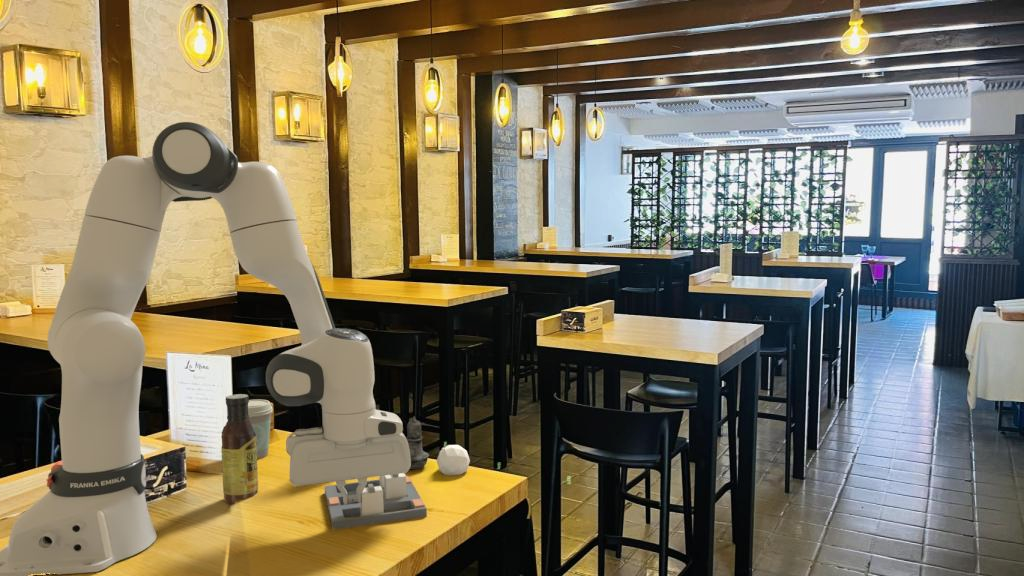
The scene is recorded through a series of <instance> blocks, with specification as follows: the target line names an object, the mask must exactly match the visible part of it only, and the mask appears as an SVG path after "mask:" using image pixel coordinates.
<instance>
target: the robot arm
mask: <svg viewBox="0 0 1024 576" xmlns="http://www.w3.org/2000/svg"><path fill="white" fill-rule="evenodd" d="M151 154H152V155H150V156H148V157H139V156H136V155H118V156H114V157H111V158H110V159H108V160H107V161H105V163H104V164H103V165H102V168H101V170H100V172H99V173H98V176H97V177H96V180H95V182H94V184H93V187H92V190H91V192H90V194H89V198H88V201H87V204H86V207H85V211H84V216H83V219H82V222H81V223H82V224H81V227H80V232H79V234H78V235H79V236H78V240H77V244H76V248H75V250H74V251H75V252H74V256H73V260H72V263H71V267H70V270H69V273H68V275H67V277H66V279H65V282H64V284H63V288H62V291H61V293H60V296H59V299H58V302H57V305H56V307H55V311H54V314H53V317H52V320H51V324H50V327H49V329H48V333H47V347H48V351H49V353H50V355H51V356H52V358H53V359H54V360H55V361H56V362H57V363H58V364H59V365H60V368H61V398H60V399H61V401H60V403H61V404H60V413H59V416H58V423H59V439H60V453H61V460H59V461H56V462H55V463H54V464H53V465H52V466H51V469H50V472H49V473H48V474H47V479H46V486H47V488H48V490H49V491H48V492H47V493H45V495H43V496H41V498H39V500H37V501H36V502H35V503H33V504H32V505H31V506H30V507H29V508H28V509H26V510H25V511H24V512H23V513H22V514H21V515H20V516H19V517H18V518H17V519H16V521H15V522H14V523H13V526H12V528H11V530H10V531H11V532H10V533H9V534H10V535H9V539H8V543H7V544H6V545H5V546H4V547H3V548H2V549H1V550H0V576H28V575H31V574H41V573H42V574H43V573H45V574H47V573H50V574H54V573H55V574H57V575H67V574H69V575H70V574H83V573H84V574H86V573H95V572H99V571H103V570H104V569H107V568H108V567H110V566H112V565H113V564H115V563H116V562H119V561H121V560H124V559H127V558H130V557H132V556H134V555H136V554H139V553H140V552H142V551H144V550H146V549H147V548H149V547H150V546H151V545H153V544H154V542H156V539H157V535H158V534H157V532H156V530H155V527H154V525H153V522H152V519H151V515H150V512H149V511H150V510H149V508H148V503H147V498H146V493H145V490H146V487H147V474H146V473H147V471H146V463H145V457H144V455H143V454H142V453H141V437H140V419H139V418H140V417H139V416H140V415H139V413H140V412H139V409H140V408H139V407H140V406H139V405H140V396H141V388H142V380H143V379H142V378H143V365H144V364H143V362H144V360H145V356H146V343H145V339H144V337H143V335H142V333H141V331H140V329H139V327H138V326H137V324H135V323H134V321H132V317H133V315H134V312H135V309H136V307H137V304H138V301H140V297H141V295H142V293H143V291H144V289H145V287H146V286H147V284H148V282H149V281H150V278H151V274H152V269H153V266H154V262H155V257H156V253H157V248H158V244H159V240H160V236H161V232H162V226H163V223H164V218H165V214H166V212H167V208H168V207H169V205H170V203H171V202H174V203H175V202H193V201H195V202H197V201H198V202H199V201H206V200H211V199H214V200H215V201H216V202H218V203H219V204H220V206H221V208H222V209H223V213H224V215H225V217H226V222H227V226H228V227H227V228H228V232H229V235H230V238H231V243H232V246H233V247H232V248H233V251H234V253H235V255H236V258H237V260H238V262H239V264H240V266H241V268H242V269H243V270H244V271H245V272H246V273H247V274H249V275H250V276H252V277H253V278H256V279H257V280H260V281H263V282H264V283H267V284H269V285H271V286H273V287H274V288H276V289H278V290H279V291H280V292H281V293H282V294H283V295H284V296H285V297H286V299H287V301H288V303H289V304H290V308H291V311H292V313H293V314H292V315H293V317H294V319H295V323H296V325H297V328H298V331H299V334H300V338H301V345H299V346H296V347H294V348H291V349H288V350H285V351H283V352H281V353H279V354H278V355H276V356H274V357H273V358H272V359H271V360H270V361H269V363H268V365H267V368H266V371H265V383H266V387H267V390H268V392H269V393H270V395H271V396H272V398H273V399H274V400H275V401H276V402H278V403H279V404H281V405H284V406H286V407H299V406H305V405H309V404H310V405H311V404H314V403H315V404H316V403H318V404H320V405H321V410H322V411H321V412H322V413H321V414H322V426H319V427H311V428H306V429H305V428H300V429H296V430H295V431H294V432H292V433H290V434H289V435H288V436H287V438H286V440H285V448H286V449H285V450H286V453H287V454H288V456H289V457H290V458H289V482H290V483H291V484H292V485H293V486H294V487H303V486H310V485H317V484H319V485H320V484H327V483H336V484H335V485H337V488H338V489H339V490H340V492H341V493H342V495H343V502H344V504H343V505H348V504H356V503H361V493H362V492H363V490H364V488H365V486H366V485H367V481H368V478H375V477H379V476H384V475H392V474H400V473H405V474H406V473H408V472H409V470H411V469H410V467H411V458H410V451H409V445H408V442H407V439H406V436H405V434H404V433H403V431H404V427H403V421H402V420H401V418H400V417H399V416H398V415H397V414H396V413H394V412H390V411H385V410H380V409H377V408H376V401H375V398H374V393H373V389H374V385H375V381H376V380H375V379H376V378H375V365H374V364H375V363H374V355H373V348H372V344H371V342H370V339H369V338H368V336H367V335H366V334H364V333H363V332H361V331H359V330H357V329H351V328H340V327H339V328H337V327H336V326H335V323H334V320H333V316H332V314H331V311H330V308H329V305H328V302H327V299H326V295H325V293H324V290H323V287H322V284H321V281H320V279H319V276H318V274H317V272H316V268H315V267H314V265H313V263H312V261H311V259H310V257H309V255H308V253H307V250H306V247H305V245H304V241H303V239H302V234H301V232H300V228H299V223H298V220H297V216H296V212H295V208H294V205H293V203H292V200H291V199H292V198H291V197H290V194H289V191H288V189H287V187H286V184H285V182H284V179H283V177H282V176H281V173H280V172H279V170H277V168H275V166H273V165H271V164H269V163H265V162H261V161H247V162H239V159H238V156H237V155H236V154H235V152H233V151H232V150H231V148H230V147H229V146H227V144H226V143H225V142H224V141H223V140H222V139H221V138H220V137H219V136H218V135H217V133H215V132H214V131H213V130H211V129H210V128H209V127H206V126H204V124H203V125H202V124H200V123H196V122H192V121H181V122H176V123H173V124H171V125H168V126H167V127H165V128H164V129H162V131H161V132H159V134H158V135H157V136H156V138H155V140H154V143H153V145H152V152H151ZM352 480H357V482H358V483H359V485H358V487H357V489H356V490H355V491H348V492H347V491H346V489H345V488H344V487H343V486H345V484H346V481H352ZM58 573H59V574H58Z"/></svg>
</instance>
